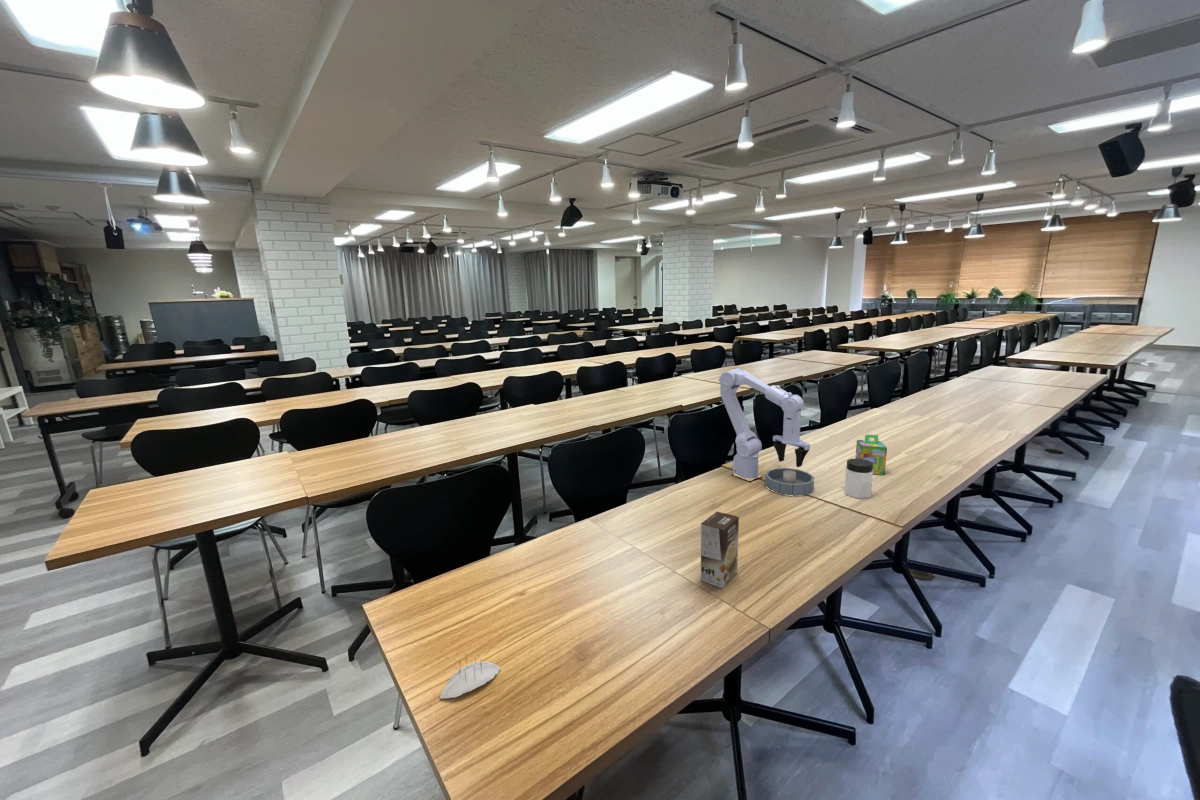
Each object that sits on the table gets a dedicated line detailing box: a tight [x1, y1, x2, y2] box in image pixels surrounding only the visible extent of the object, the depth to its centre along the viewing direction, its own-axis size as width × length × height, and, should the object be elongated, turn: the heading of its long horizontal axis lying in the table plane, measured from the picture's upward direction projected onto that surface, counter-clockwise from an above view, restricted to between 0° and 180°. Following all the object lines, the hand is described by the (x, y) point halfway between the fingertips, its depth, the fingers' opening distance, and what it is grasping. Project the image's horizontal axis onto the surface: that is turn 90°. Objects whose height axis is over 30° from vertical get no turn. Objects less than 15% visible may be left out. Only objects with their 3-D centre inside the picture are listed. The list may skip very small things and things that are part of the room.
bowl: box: [764, 467, 815, 497], centre depth 176 cm, size 17×17×4 cm
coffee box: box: [700, 511, 740, 589], centre depth 121 cm, size 9×6×16 cm
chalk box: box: [854, 434, 888, 476], centre depth 187 cm, size 9×9×15 cm
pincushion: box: [439, 652, 501, 700], centre depth 91 cm, size 12×6×6 cm, turn 126°
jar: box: [844, 458, 874, 499], centre depth 167 cm, size 9×8×12 cm
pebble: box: [783, 470, 796, 484], centre depth 176 cm, size 4×4×5 cm
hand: (790, 463), depth 174 cm, fingers open, 7 cm apart
